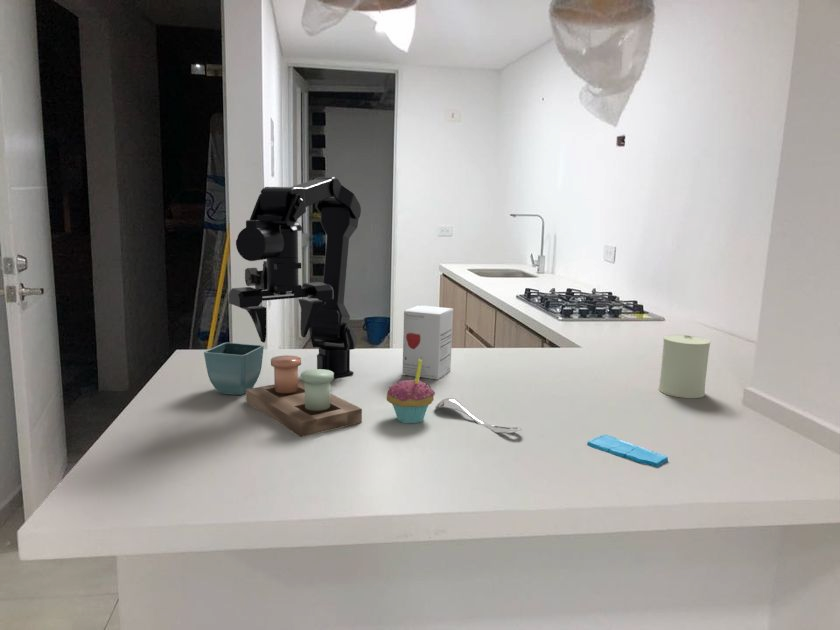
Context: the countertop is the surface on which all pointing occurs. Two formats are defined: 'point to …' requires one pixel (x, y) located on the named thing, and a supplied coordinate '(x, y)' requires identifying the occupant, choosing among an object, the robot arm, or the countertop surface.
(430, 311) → the supplement box
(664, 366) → the can
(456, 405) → the silver spoon
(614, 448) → the blue flat block
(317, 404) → the sage plunger
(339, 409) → the panel
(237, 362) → the flower pot
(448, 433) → the countertop surface
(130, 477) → the countertop surface
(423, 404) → the cupcake
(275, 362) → the terracotta plunger
